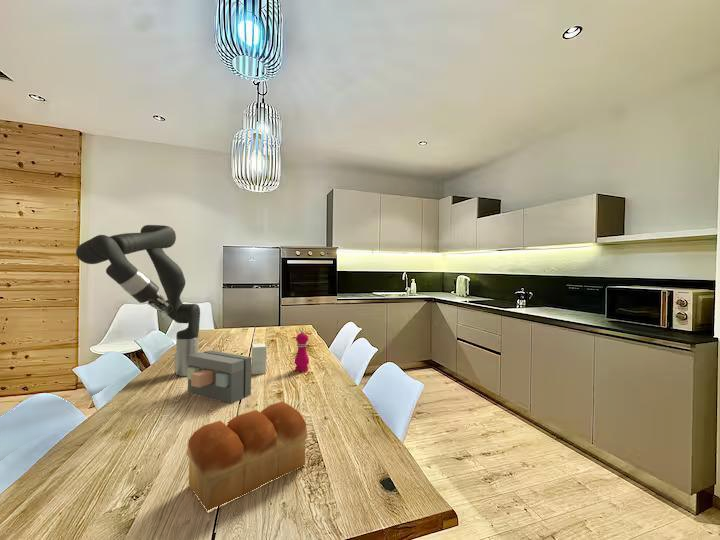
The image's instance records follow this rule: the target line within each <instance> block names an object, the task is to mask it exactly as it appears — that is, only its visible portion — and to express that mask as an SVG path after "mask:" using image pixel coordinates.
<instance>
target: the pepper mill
mask: <svg viewBox="0 0 720 540" xmlns="http://www.w3.org/2000/svg"><path fill="white" fill-rule="evenodd" d="M295 341H296V342H297V345H296V347H297V354H296V356H295V358H294V365H295V372H297V371H305V372H307V371H309V363H310V358H309V355H308V353H307V347H308V341H309V336H308V334H306V333H305V330H303V329H302V330H300V333H298V334H297V335H296V338H295ZM306 370H307V371H306Z"/></svg>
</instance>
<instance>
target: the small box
mask: <svg viewBox="0 0 720 540" xmlns="http://www.w3.org/2000/svg"><path fill="white" fill-rule="evenodd" d="M251 346H252V348H251V376H252V375H263V374H267V345H266V342H265V343H252V345H251Z"/></svg>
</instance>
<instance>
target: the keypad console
mask: <svg viewBox="0 0 720 540" xmlns="http://www.w3.org/2000/svg"><path fill="white" fill-rule="evenodd" d="M192 366H196V367H200V371H202V370H206V369H211V370H214V382H213V383H211V384H208V385H205V386H202V387H200V388H199V387H195V386H191V380H189V379H187V393H188V392H189V393H188V394H191V393H192V395H195V394H196V396H199V395H200V397H203V398H207V399H211V400H216V401H218V402H224V403H226V404H227V403H228V404H230V405H231V404H234V403H236V402H238V401H241V400H242V399H244V398H247V397H248V396H251V395H252V356H247V355H239V354H234V353H227V352H222V351H215V350H210V349H209V350H208V349H207V350H204V351H203V352H202V351H201V352H198V353H196V354H193V355H189V356H188V368H189V367H192ZM220 372H225V373H229V386H227V387H220V386H216V374H217V373H220Z"/></svg>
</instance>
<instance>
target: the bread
mask: <svg viewBox="0 0 720 540" xmlns="http://www.w3.org/2000/svg"><path fill="white" fill-rule="evenodd" d="M307 438H308V429H307V423H306V421H305V419H304V417H303V416H302V414H301V412H299V411H298V410H297V409H296V408H294V407H293V406H291V405H290V404H288V403H286V402H285V401H279V402H276V403H273V404H269V405H267V406H266V407H265V408H263V409H262V410H261V411H259V410H257V409H254V410H252V411H247V412H245V413H242V414H241V413H240V414H238V415H236V416H235V417H233V418H232V419H230V420H229V421H228V423H227V424H225V423H224V422H223V421H221V420H218V421H214V422H211V423H209V424H204V425H203V426H201V427H199V428H198V429H197V430H195V431H193V434H192V435H191V436H190V438H189V439H188V443H187V450H186V455H187V457H188V486H189V485H190V487H191V488H192V490H193V491H194V492H195V494H196V495H197V496H198V498H199V499H200V501H201V502H202V504H203V505H204V506H205V508H206V509H207V511H208V510H210V509H212V508H214V507H217V506H220V505H222V504H224V503H226V502H229V501H231V500H233V499H235V498H237V497H240V496H242V495H244V494H246V493H248V492H250V491H252V490H254V489H256V488H258V487H260V486H261V485H263V484H265V483H267V482H269V481H271V480H274V479H276V478H278V477H280V476H282V475H284V474H286V473H289V472H291V471H293V470H295V469H297V468H299V467H301V466H303V465H305V466H306V439H307ZM303 467H304V466H303ZM301 468H302V467H301ZM299 469H300V468H299ZM297 470H298V469H297ZM295 471H296V470H295ZM293 472H294V471H293ZM291 473H292V472H291ZM289 474H290V473H289ZM190 487H189V488H190ZM192 490H191V491H192Z"/></svg>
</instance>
